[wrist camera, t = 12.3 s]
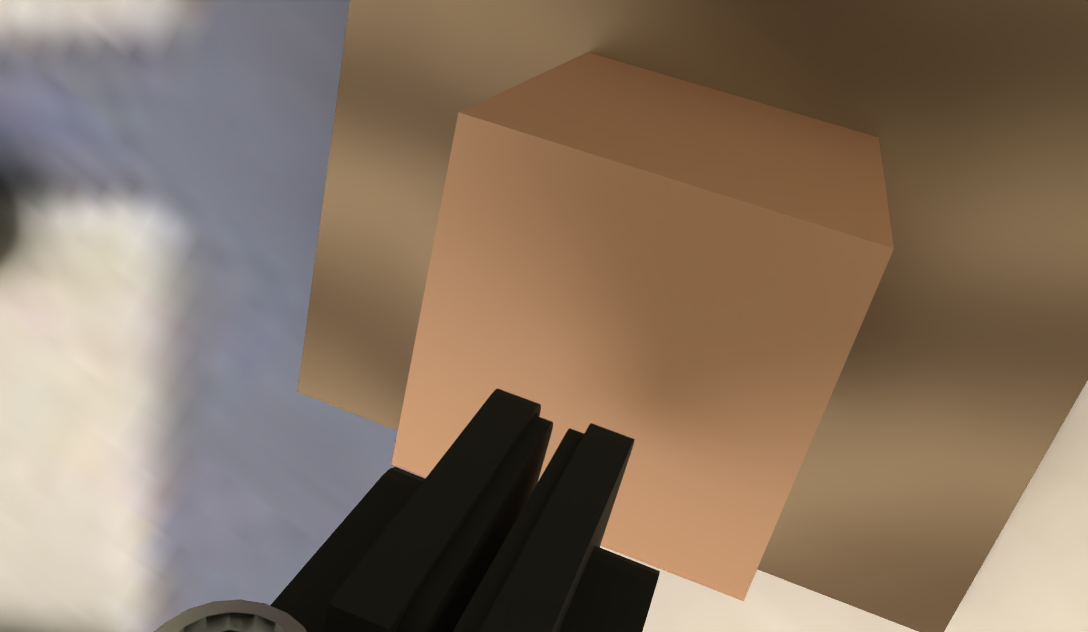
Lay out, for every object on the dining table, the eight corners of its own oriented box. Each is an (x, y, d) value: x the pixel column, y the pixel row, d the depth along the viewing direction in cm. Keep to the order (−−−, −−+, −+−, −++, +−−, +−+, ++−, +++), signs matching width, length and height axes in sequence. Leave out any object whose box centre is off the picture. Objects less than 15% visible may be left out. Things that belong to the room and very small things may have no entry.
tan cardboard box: (588, 52, 20) (458, 112, 14) (878, 137, 19) (894, 249, 13) (525, 309, 23) (391, 464, 16) (776, 396, 22) (743, 601, 15)
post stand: (414, -245, 21) (207, -328, 14) (1283, -29, 18) (1546, -4, 11) (323, 369, 28) (156, 508, 21) (934, 600, 24) (965, 850, 18)
